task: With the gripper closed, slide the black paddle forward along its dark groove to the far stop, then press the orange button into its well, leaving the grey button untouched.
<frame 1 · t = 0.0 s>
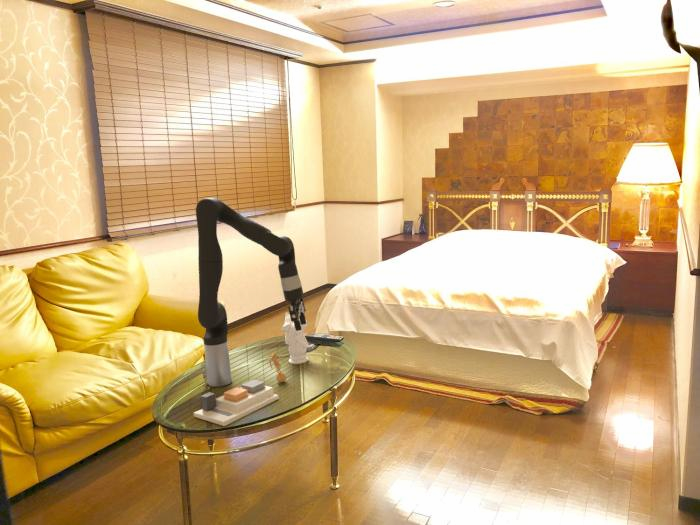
hand: (301, 327, 225), 22 cm above the table, tool pointing down, fingers open, 8 cm apart
cherub figurine: (294, 362, 253), on the table
figurine: (279, 382, 230), on the table
grey button: (253, 387, 213), point 5 cm above the table, slide at 0.0 cm
walkie-talkie: (305, 350, 272), on the table
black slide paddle: (208, 401, 204), point 4 cm above the table, slide at 0.0 cm
orange button: (236, 395, 206), point 5 cm above the table, slide at 0.0 cm
control panel: (237, 407, 207), on the table
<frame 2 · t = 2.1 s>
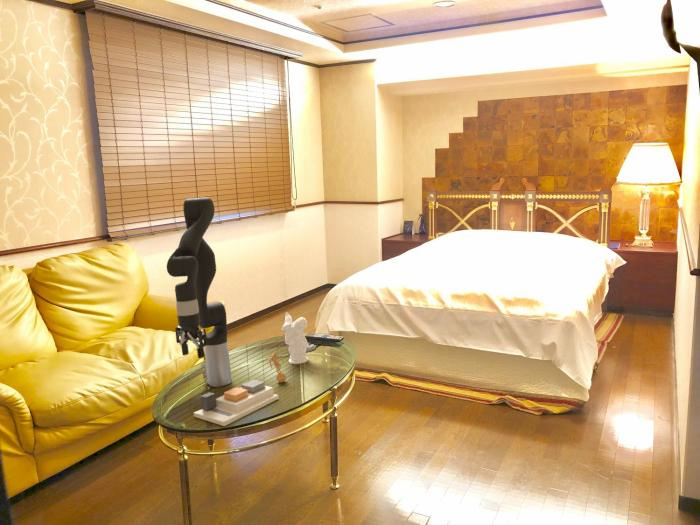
hand: (193, 356, 205), 20 cm above the table, tool pointing down, fingers open, 8 cm apart
nothing on the table moved.
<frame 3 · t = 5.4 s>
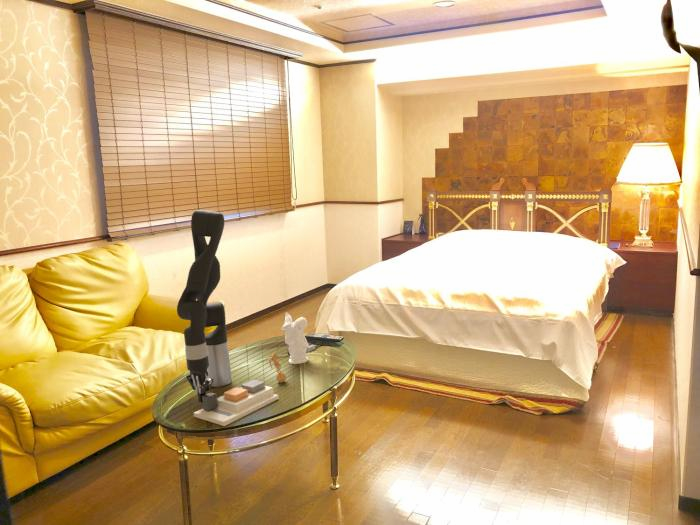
hand: (202, 401, 206), 4 cm above the table, tool pointing down, fingers closed
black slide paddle: (209, 401, 203), point 4 cm above the table, slide at 0.6 cm, touching gripper
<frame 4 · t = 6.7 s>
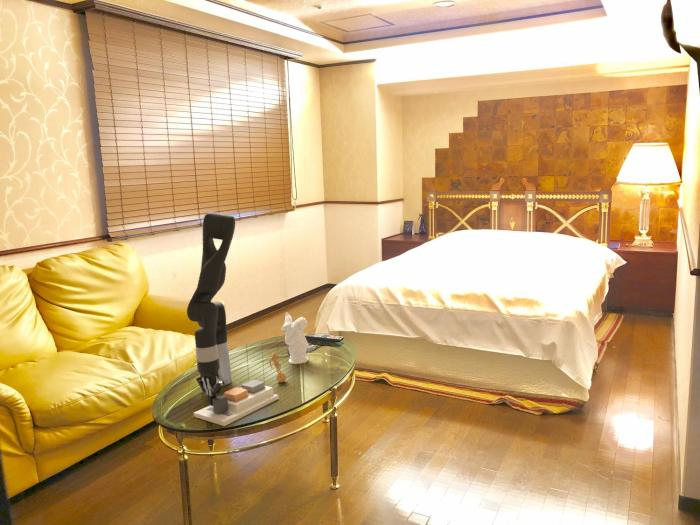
hand: (212, 404, 202), 4 cm above the table, tool pointing down, fingers closed
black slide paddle: (220, 404, 200), point 4 cm above the table, slide at 6.3 cm, touching gripper
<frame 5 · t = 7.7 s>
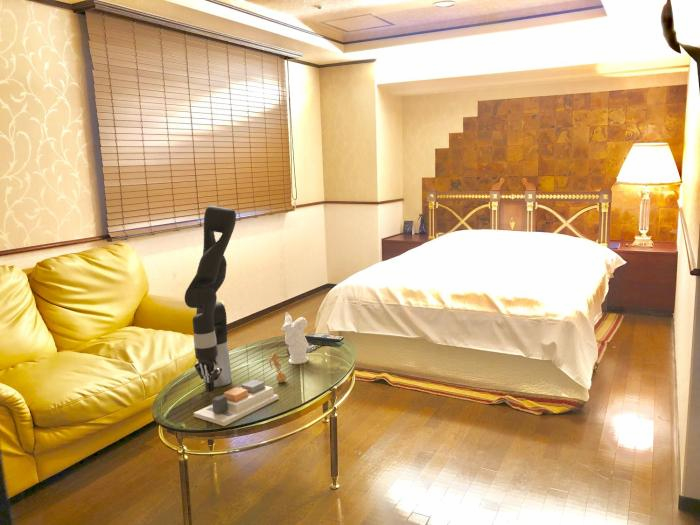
hand: (210, 391, 201), 9 cm above the table, tool pointing down, fingers closed
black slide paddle: (219, 404, 200), point 4 cm above the table, slide at 6.1 cm
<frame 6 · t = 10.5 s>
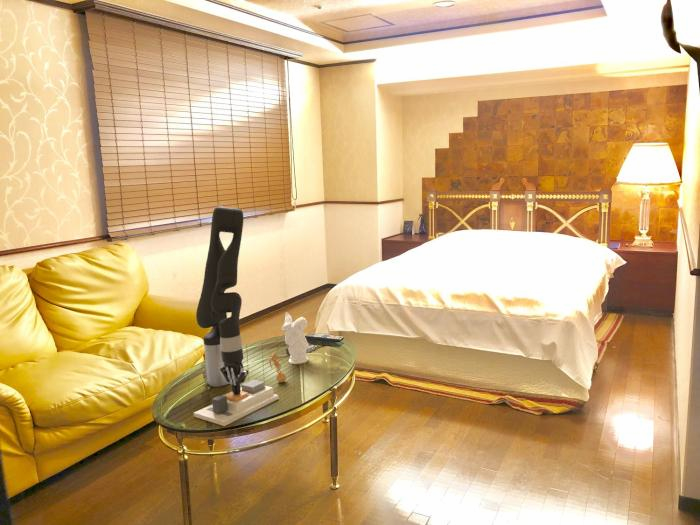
hand: (236, 393, 206), 5 cm above the table, tool pointing down, fingers closed
orange button: (236, 398, 207), point 4 cm above the table, slide at 1.1 cm, touching gripper
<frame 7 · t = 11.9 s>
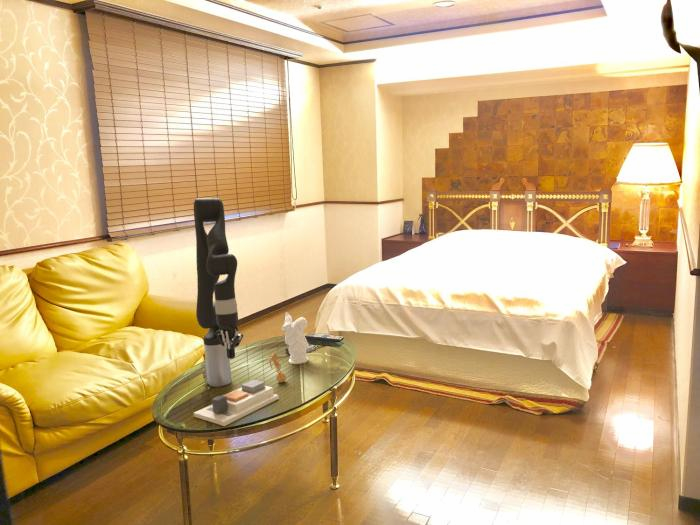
hand: (231, 358, 204), 19 cm above the table, tool pointing down, fingers closed
orange button: (236, 398, 207), point 3 cm above the table, slide at 1.2 cm
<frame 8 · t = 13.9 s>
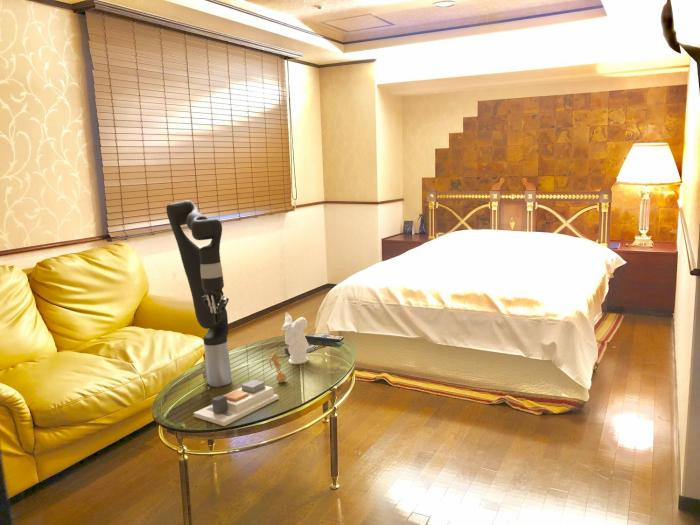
hand: (217, 322, 206), 31 cm above the table, tool pointing down, fingers closed
at the end: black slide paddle slide at 6.1 cm; orange button slide at 1.2 cm; grey button slide at 0.0 cm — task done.
